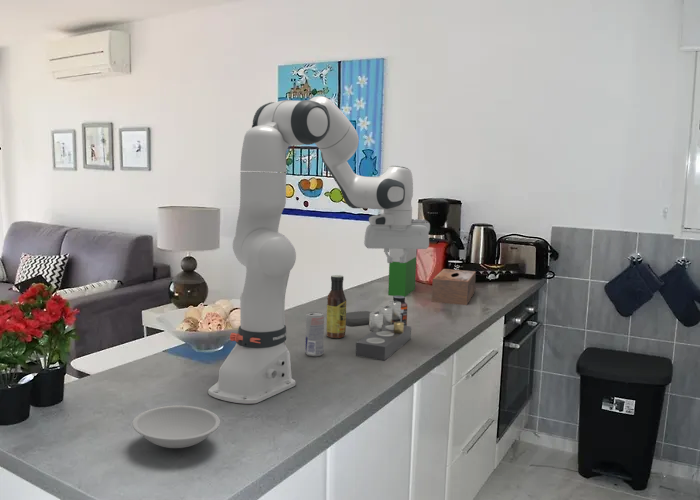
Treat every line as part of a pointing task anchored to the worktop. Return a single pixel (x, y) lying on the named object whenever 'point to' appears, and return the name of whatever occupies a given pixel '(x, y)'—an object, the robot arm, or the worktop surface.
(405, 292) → the hardback book
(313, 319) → the energy drink
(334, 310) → the sauce bottle
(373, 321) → the knob near
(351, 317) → the spray bottle
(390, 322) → the knob mid
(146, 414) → the dish
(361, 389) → the worktop surface
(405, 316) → the supplement bottle
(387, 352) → the mount
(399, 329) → the brass dome cylinder
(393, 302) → the knob far
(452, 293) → the tissue box cover
